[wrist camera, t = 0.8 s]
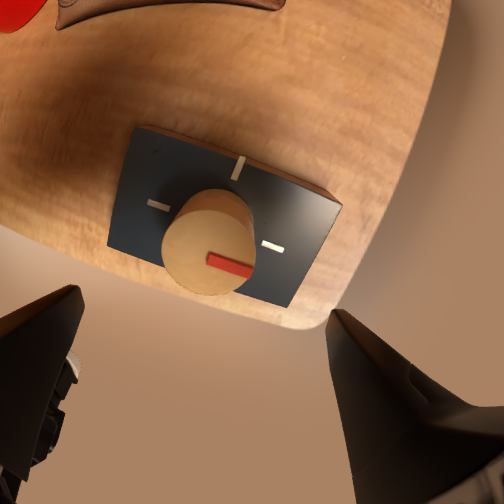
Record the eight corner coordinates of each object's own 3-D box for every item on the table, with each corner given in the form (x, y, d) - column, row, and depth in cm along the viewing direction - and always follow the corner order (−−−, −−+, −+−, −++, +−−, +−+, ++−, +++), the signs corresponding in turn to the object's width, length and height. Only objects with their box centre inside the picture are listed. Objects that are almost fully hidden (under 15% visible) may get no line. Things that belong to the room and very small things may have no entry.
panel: (122, 232, 20) (104, 251, 17) (152, 120, 16) (134, 121, 13) (280, 288, 22) (285, 313, 19) (331, 188, 18) (346, 201, 16)
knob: (171, 244, 17) (150, 281, 13) (192, 177, 15) (173, 197, 11) (237, 268, 18) (235, 310, 14) (265, 204, 16) (272, 233, 12)
